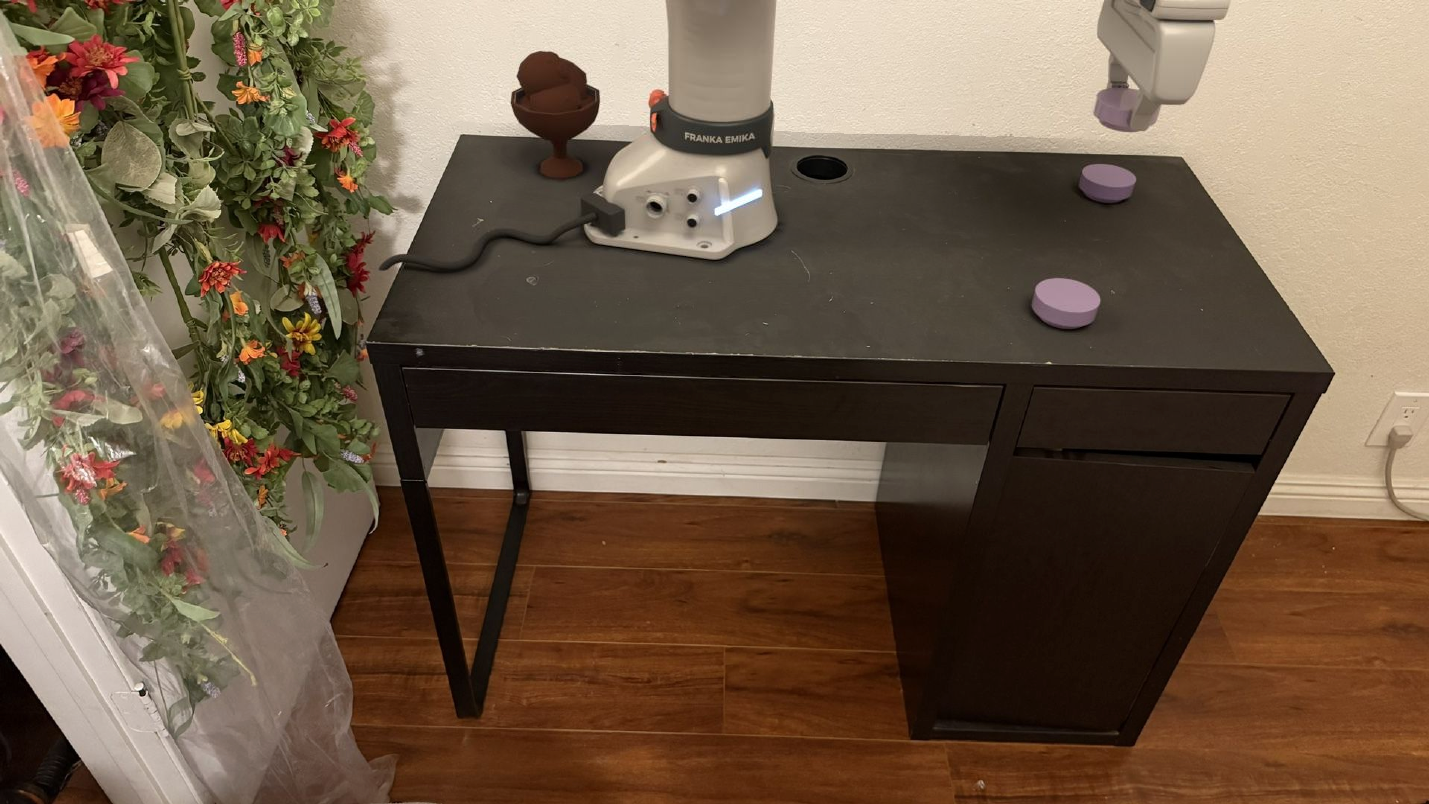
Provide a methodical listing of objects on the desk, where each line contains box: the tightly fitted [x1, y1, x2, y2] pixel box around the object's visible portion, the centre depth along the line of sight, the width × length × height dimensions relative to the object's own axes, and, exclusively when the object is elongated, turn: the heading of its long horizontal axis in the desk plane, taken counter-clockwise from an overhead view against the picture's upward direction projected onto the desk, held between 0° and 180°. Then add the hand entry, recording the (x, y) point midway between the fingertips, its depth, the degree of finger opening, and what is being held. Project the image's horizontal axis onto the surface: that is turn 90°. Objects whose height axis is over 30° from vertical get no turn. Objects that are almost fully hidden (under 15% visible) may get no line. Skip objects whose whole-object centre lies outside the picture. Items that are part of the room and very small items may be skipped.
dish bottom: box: [1078, 163, 1137, 204], centre depth 123 cm, size 6×6×3 cm
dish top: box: [1092, 88, 1162, 133], centre depth 103 cm, size 6×6×3 cm
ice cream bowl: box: [510, 50, 601, 179], centre depth 121 cm, size 11×11×15 cm
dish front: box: [1031, 277, 1101, 330], centre depth 101 cm, size 6×6×3 cm
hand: (1125, 113), depth 103 cm, fingers closed on dish top, 6 cm apart
